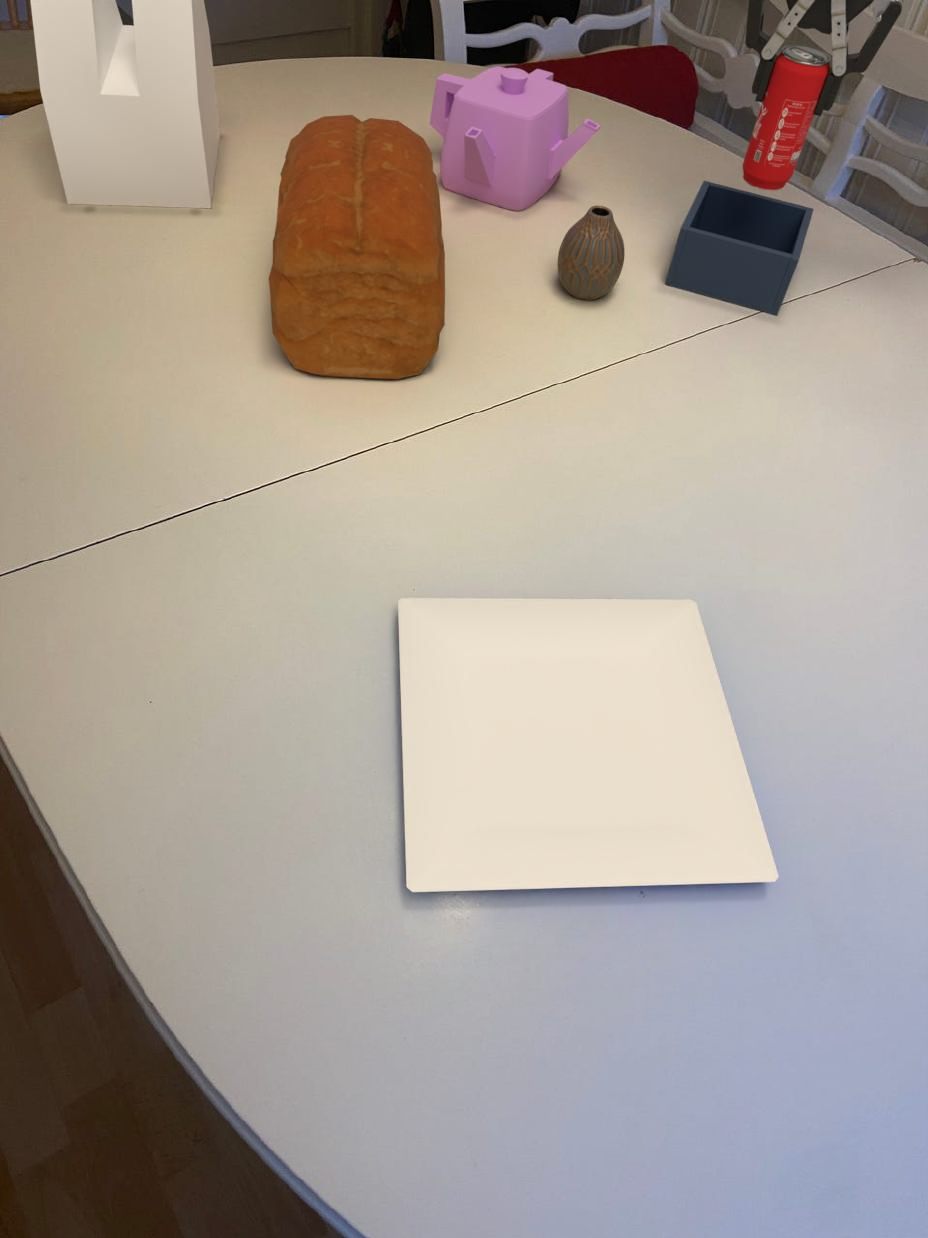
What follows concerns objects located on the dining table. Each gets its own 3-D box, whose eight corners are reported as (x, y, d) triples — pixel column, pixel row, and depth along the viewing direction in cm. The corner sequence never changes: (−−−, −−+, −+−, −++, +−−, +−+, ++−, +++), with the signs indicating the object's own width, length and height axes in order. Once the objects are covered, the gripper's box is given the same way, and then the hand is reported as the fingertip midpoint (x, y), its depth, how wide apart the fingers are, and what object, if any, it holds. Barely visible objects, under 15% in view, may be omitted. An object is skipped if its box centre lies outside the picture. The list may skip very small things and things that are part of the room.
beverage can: (765, 196, 95) (809, 67, 85) (729, 174, 97) (767, 47, 88) (798, 185, 97) (844, 59, 88) (762, 165, 99) (803, 40, 90)
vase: (546, 298, 98) (559, 217, 92) (560, 267, 103) (575, 188, 96) (609, 313, 98) (627, 234, 91) (621, 281, 102) (640, 203, 95)
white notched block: (92, 127, 114) (39, -127, 95) (220, 133, 116) (193, -115, 97) (67, 203, 102) (1, -71, 83) (211, 208, 104) (178, -58, 85)
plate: (396, 613, 69) (397, 595, 67) (688, 615, 71) (696, 597, 70) (405, 905, 54) (406, 890, 53) (770, 894, 57) (781, 879, 55)
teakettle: (537, 145, 122) (552, 40, 113) (591, 207, 112) (613, 98, 103) (415, 153, 118) (420, 45, 108) (460, 219, 108) (470, 106, 98)
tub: (792, 262, 108) (814, 208, 103) (777, 315, 100) (798, 259, 95) (688, 234, 110) (704, 180, 105) (664, 284, 102) (680, 227, 97)
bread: (434, 239, 104) (444, 88, 92) (444, 384, 87) (458, 221, 75) (289, 231, 102) (279, 76, 90) (269, 377, 85) (255, 209, 73)
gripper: (947, -100, 80) (864, 109, 93) (782, -132, 82) (724, 76, 95) (944, -80, 75) (857, 137, 88) (769, -115, 77) (710, 102, 90)
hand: (788, 104), depth 91 cm, fingers closed on beverage can, 5 cm apart
